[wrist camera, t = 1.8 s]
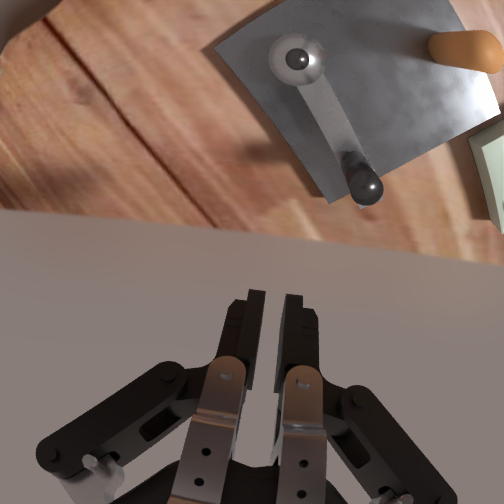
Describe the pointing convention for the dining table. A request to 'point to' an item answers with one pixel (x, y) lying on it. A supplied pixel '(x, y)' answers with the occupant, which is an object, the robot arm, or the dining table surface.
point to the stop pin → (467, 50)
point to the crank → (325, 111)
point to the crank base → (364, 81)
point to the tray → (491, 169)
